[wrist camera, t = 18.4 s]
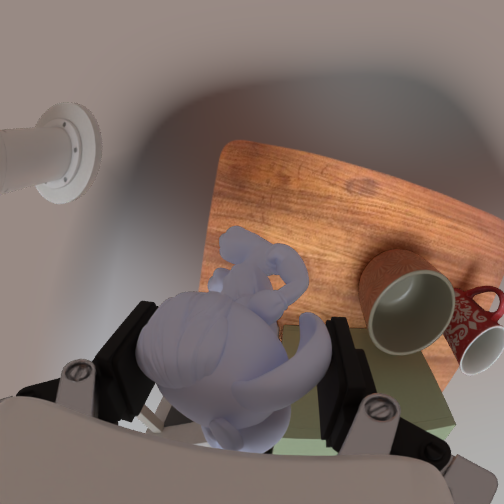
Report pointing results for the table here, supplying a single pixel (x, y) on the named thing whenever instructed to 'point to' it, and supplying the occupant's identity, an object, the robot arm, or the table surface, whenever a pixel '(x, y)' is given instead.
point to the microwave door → (173, 424)
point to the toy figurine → (237, 347)
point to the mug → (475, 331)
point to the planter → (404, 302)
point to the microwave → (387, 382)
